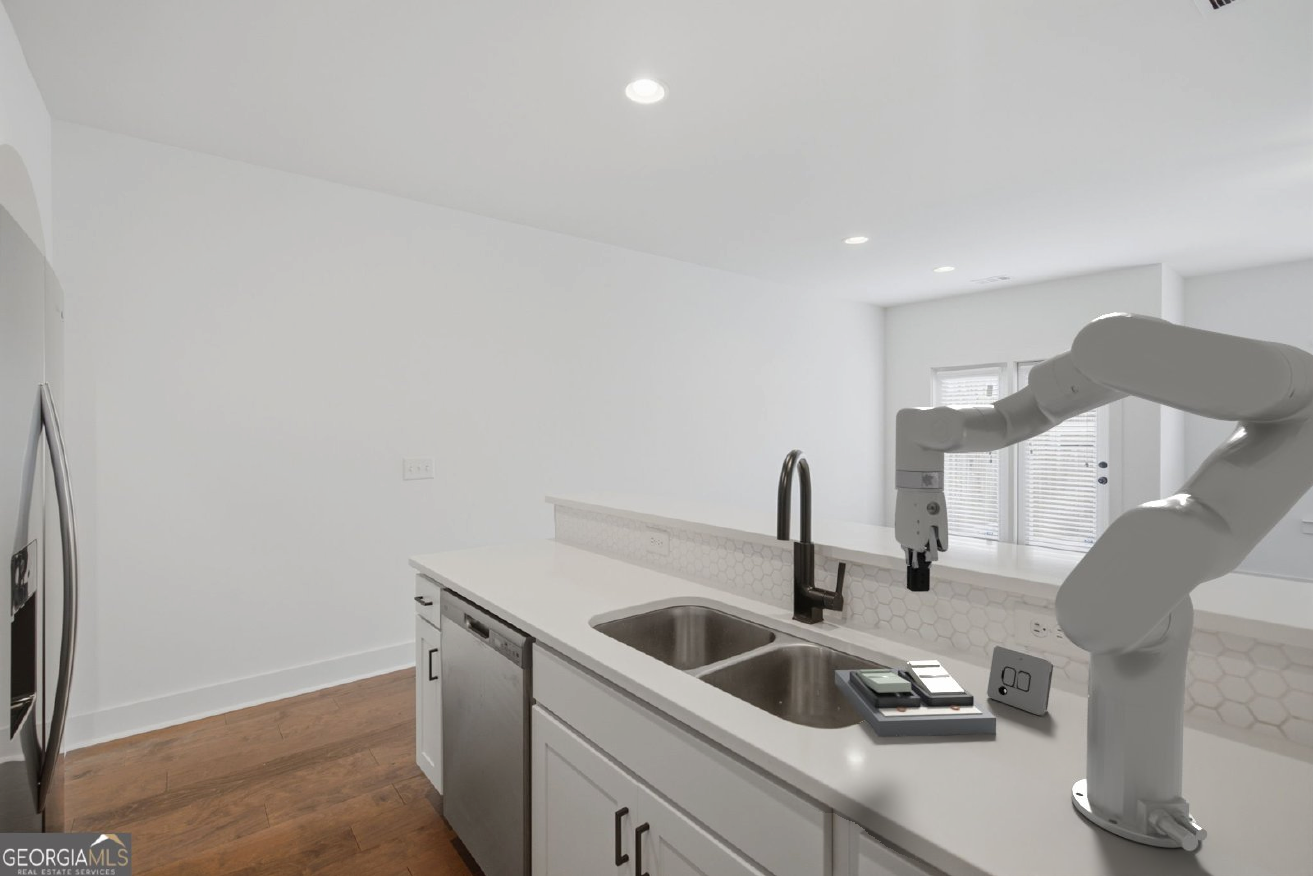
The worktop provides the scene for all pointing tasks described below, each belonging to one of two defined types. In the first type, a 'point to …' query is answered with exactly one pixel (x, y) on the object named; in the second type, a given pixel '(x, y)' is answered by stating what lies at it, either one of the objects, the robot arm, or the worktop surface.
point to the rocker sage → (884, 681)
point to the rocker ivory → (933, 678)
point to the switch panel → (914, 709)
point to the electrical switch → (1020, 680)
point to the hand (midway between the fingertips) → (918, 590)
